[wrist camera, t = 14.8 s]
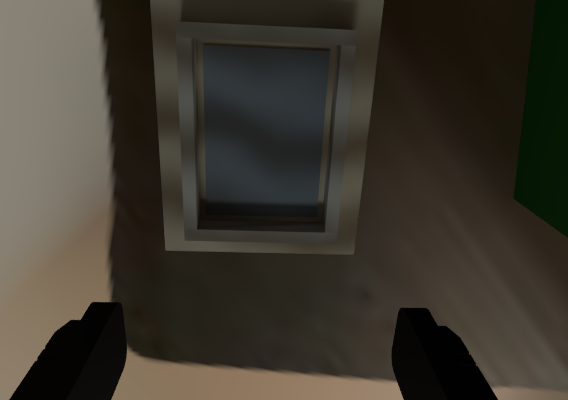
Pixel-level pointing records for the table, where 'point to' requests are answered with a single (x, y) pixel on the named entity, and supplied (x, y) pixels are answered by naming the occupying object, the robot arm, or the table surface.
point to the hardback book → (546, 119)
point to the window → (263, 121)
